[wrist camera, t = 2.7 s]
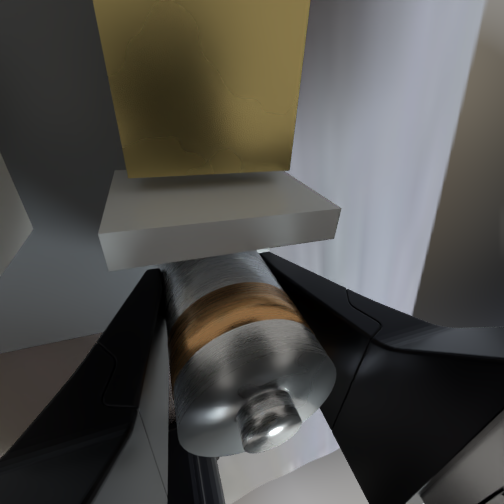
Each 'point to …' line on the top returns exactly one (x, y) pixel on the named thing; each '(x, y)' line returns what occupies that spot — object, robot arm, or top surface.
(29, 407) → the top surface
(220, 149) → the plate
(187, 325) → the cell
